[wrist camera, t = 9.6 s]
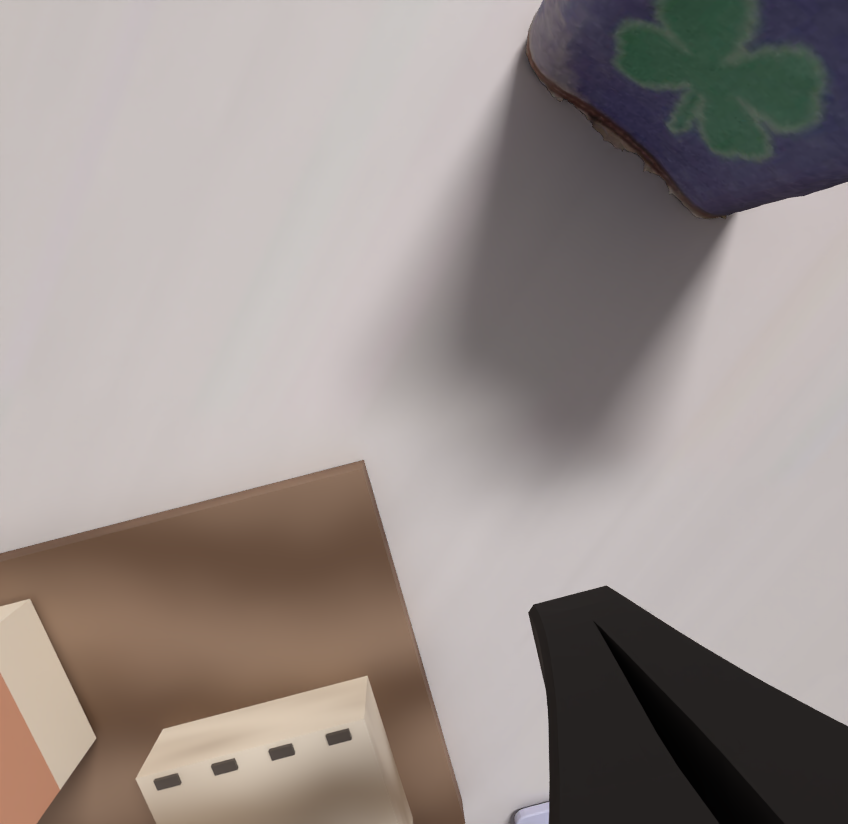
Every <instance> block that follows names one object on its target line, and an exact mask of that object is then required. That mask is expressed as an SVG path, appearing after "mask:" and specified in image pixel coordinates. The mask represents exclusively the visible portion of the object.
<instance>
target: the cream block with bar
mask: <svg viewBox="0 0 848 824" xmlns="http://www.w3.org/2000/svg"><path fill="white" fill-rule="evenodd" d="M95 740H96V736H95V734H94V732H93V730H92V728H91V726H90V724H89V722H88V720H87V717H86V715H85V713H84V711H83V709H82V707H81V705H80V703H79V701H78V699H77V696H76V694H75V692H74V690H73V688H72V686H71V684H70V682H69V680H68V678H67V675H66V673H65V671H64V669H63V667H62V665H61V663H60V661H59V659H58V657H57V654H56V652H55V650H54V648H53V646H52V644H51V642H50V640H49V638H48V636H47V633H46V631H45V629H44V627H43V625H42V623H41V621H40V619H39V617H38V615H37V612H36V610H35V608H34V606H33V604H32V602H31V600H30V599H27V600H23V601H20V602H16V603H12V604H8V605H4V606H0V824H37V823H38V821H39V820H40V818H41V817H42V815H43V814H44V813H45V811H46V810H47V808H48V807H49V805H50V804H51V802H52V801H53V800H54V798H55V797H56V795H57V794H58V792H59V791H60V790H61V788H62V787H63V785H64V784H65V782H66V781H67V780H68V778H69V777H70V775H71V774H72V772H73V771H74V770H75V768H76V767H77V765H78V764H79V762H80V761H81V760H82V758H83V757H84V755H85V754H86V752H87V751H88V750H89V748H90V747H91V745H92V744H93V742H94V741H95Z"/></svg>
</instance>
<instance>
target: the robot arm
mask: <svg viewBox="0 0 848 824" xmlns="http://www.w3.org/2000/svg"><path fill="white" fill-rule="evenodd" d="M528 613H529V618H530V622H531V626H532V631H533V635H534V640H535V644H536V648H537V653H538V657H539V662H540V666H541V670H542V675H543V679H544V684H545V688H546V695H547V706H548V721H549V770H550V790H549V802H546V803H542V804H538V805H535V806H531V807H527V808H523V809H521V810H519V811H518V812H517V813H516V815H515V824H848V726H846V725H844V724H842V723H840V722H838V721H836V720H834V719H832V718H831V717H829V716H827V715H825V714H823V713H821V712H819V711H817V710H815V709H813V708H812V707H810V706H808V705H806V704H804V703H802V702H800V701H798V700H797V699H795V698H793V697H791V696H789V695H787V694H785V693H783V692H782V691H780V690H778V689H776V688H774V687H772V686H770V685H768V684H767V683H765V682H763V681H761V680H760V679H758V678H756V677H754V676H752V675H751V674H749V673H747V672H745V671H744V670H742V669H740V668H739V667H737V666H735V665H734V664H732V663H730V662H728V661H727V660H725V659H723V658H722V657H720V656H718V655H717V654H715V653H713V652H712V651H710V650H708V649H707V648H705V647H703V646H701V645H700V644H698V643H697V642H695V641H693V640H692V639H690V638H688V637H687V636H685V635H684V634H682V633H680V632H679V631H677V630H676V629H674V628H672V627H671V626H669V625H668V624H666V623H665V622H663V621H661V620H660V619H658V618H657V617H655V616H654V615H652V614H650V613H649V612H647V611H646V610H644V609H643V608H641V607H640V606H638V605H636V604H635V603H633V602H632V601H630V600H629V599H627V598H626V597H624V596H622V595H621V594H619V593H618V592H616V591H614V590H613V589H611V588H610V587H608V586H603V587H599V588H596V589H592V590H588V591H584V592H580V593H576V594H573V595H569V596H565V597H561V598H557V599H553V600H550V601H546V602H542V603H538V604H534V605H533V607H532V608H531V609H530V611H529V612H528Z"/></svg>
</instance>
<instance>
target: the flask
mask: <svg viewBox="0 0 848 824" xmlns="http://www.w3.org/2000/svg"><path fill="white" fill-rule="evenodd" d="M526 54H527V56H528V60H529V62H530V65H531V67H532V69H533V70H534V71H535V73H536V74H537V76H538V78H539V80H540V81H541V83H543V84H544V85H545V86H546V87H547V89H548V91H550V93H551V94H552V96H553V97H555V98H557V100H558V101H560V102H561V101H563V98H564V99H567V100H568V102H570V103H572V104H573V105H574V106H575V107H576V108H577V109H579V110H580V111H581V113H582V114H585V115H586V118H587V120H590V121H591V122H592V123H593V126H592V127H593V128H594V129H595V130H596V131H597V132H599V133H601V135H602V136H603V138H604V141H608V142H610V143H612V144H613V146H614V147H615V148H617V149H622V151H623V150H624V149H626V151H628V152H629V151H630V152H632V153H637V154H638V156H640V157H641V159H642V160H643V161H644V162H645V163H644V171H649V172H650V173H654V174H656V175H659V176H660V177H661V178H662V179H664V180H665V181H666V184H667V186H668V188H669V190H670V191H669V195H670V194H671V193H672V194H673V195H674V196H676V197H677V198H678V199H679V200H681V202H682V204H683V205H684V206H685V207H687V208H688V209H689V210H690V211H691V213H692V214H693V215H694V216H695V217H697V218H704V219H710V218H712V219H713V218H718V217H721V218H724V219H726V216H727V215H730V214H732V213H735V212H741V211H744V210H748V209H751V208H755V207H758V206H761V205H764V204H767V203H772V202H776V201H779V200H783V199H786V198H791V197H799V196H805V195H808V194H811V193H813V192H817V191H820V190H824V189H827V188H830V187H833V186H835V185H839V184H842V183H845V182H848V0H543V2H542V4H541V6H540V8H539V9H538V11H537V13H536V14H535V16H534V18H533V20H532V23H531V25H530V28H529V31H528V37H527V47H526ZM644 171H643V172H644Z"/></svg>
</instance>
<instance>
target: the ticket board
mask: <svg viewBox="0 0 848 824" xmlns="http://www.w3.org/2000/svg"><path fill="white" fill-rule="evenodd" d="M27 599H30V600H31V602H32V604H33V606H34V608H35V610H36V612H37V615H38V617H39V619H40V621H41V623H42V625H43V627H44V629H45V631H46V633H47V636H48V638H49V640H50V642H51V644H52V646H53V648H54V650H55V652H56V654H57V657H58V659H59V661H60V663H61V665H62V667H63V669H64V671H65V673H66V675H67V678H68V680H69V682H70V684H71V686H72V688H73V690H74V692H75V694H76V696H77V699H78V701H79V703H80V705H81V707H82V709H83V711H84V713H85V715H86V717H87V720H88V722H89V724H90V726H91V728H92V730H93V732H94V734H95V736H96V740H95V741H94V742H93V744H92V745H91V747H90V748H89V750H88V751H87V752H86V754H85V755H84V757H83V758H82V760H81V761H80V762H79V764H78V765H77V767H76V768H75V770H74V771H73V772H72V774H71V775H70V777H69V778H68V780H67V781H66V782H65V784H64V785H63V787H62V788H61V790H60V791H59V792H58V794H57V795H56V797H55V798H54V800H53V801H52V802H51V804H50V805H49V807H48V808H47V810H46V811H45V813H44V814H43V815H42V817H41V818H40V820H39V821H38V823H37V824H465V819H464V812H463V804H462V799H461V795H460V792H459V788H458V785H457V781H456V778H455V774H454V771H453V767H452V764H451V761H450V757H449V754H448V750H447V747H446V743H445V740H444V736H443V733H442V729H441V726H440V722H439V719H438V716H437V712H436V709H435V705H434V702H433V698H432V695H431V691H430V688H429V684H428V681H427V677H426V674H425V670H424V667H423V664H422V660H421V657H420V653H419V650H418V646H417V643H416V639H415V636H414V632H413V629H412V625H411V622H410V619H409V615H408V612H407V608H406V605H405V601H404V598H403V594H402V591H401V587H400V584H399V580H398V577H397V574H396V570H395V567H394V563H393V560H392V556H391V553H390V549H389V546H388V542H387V539H386V535H385V532H384V529H383V525H382V522H381V518H380V515H379V511H378V508H377V504H376V501H375V497H374V494H373V490H372V487H371V483H370V480H369V477H368V473H367V470H366V466H365V463H364V460H362V461H358V462H354V463H350V464H346V465H343V466H339V467H335V468H331V469H327V470H323V471H319V472H315V473H311V474H308V475H304V476H300V477H296V478H292V479H288V480H284V481H280V482H277V483H273V484H269V485H265V486H261V487H257V488H253V489H249V490H245V491H242V492H238V493H234V494H230V495H226V496H222V497H218V498H214V499H210V500H207V501H203V502H199V503H195V504H191V505H187V506H183V507H179V508H175V509H172V510H168V511H164V512H160V513H156V514H152V515H148V516H144V517H140V518H137V519H133V520H129V521H125V522H121V523H117V524H113V525H109V526H106V527H102V528H98V529H94V530H90V531H86V532H82V533H78V534H74V535H71V536H67V537H63V538H59V539H55V540H51V541H47V542H43V543H39V544H36V545H32V546H28V547H24V548H20V549H16V550H12V551H8V552H4V553H1V554H0V606H4V605H8V604H12V603H16V602H20V601H23V600H27Z"/></svg>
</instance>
